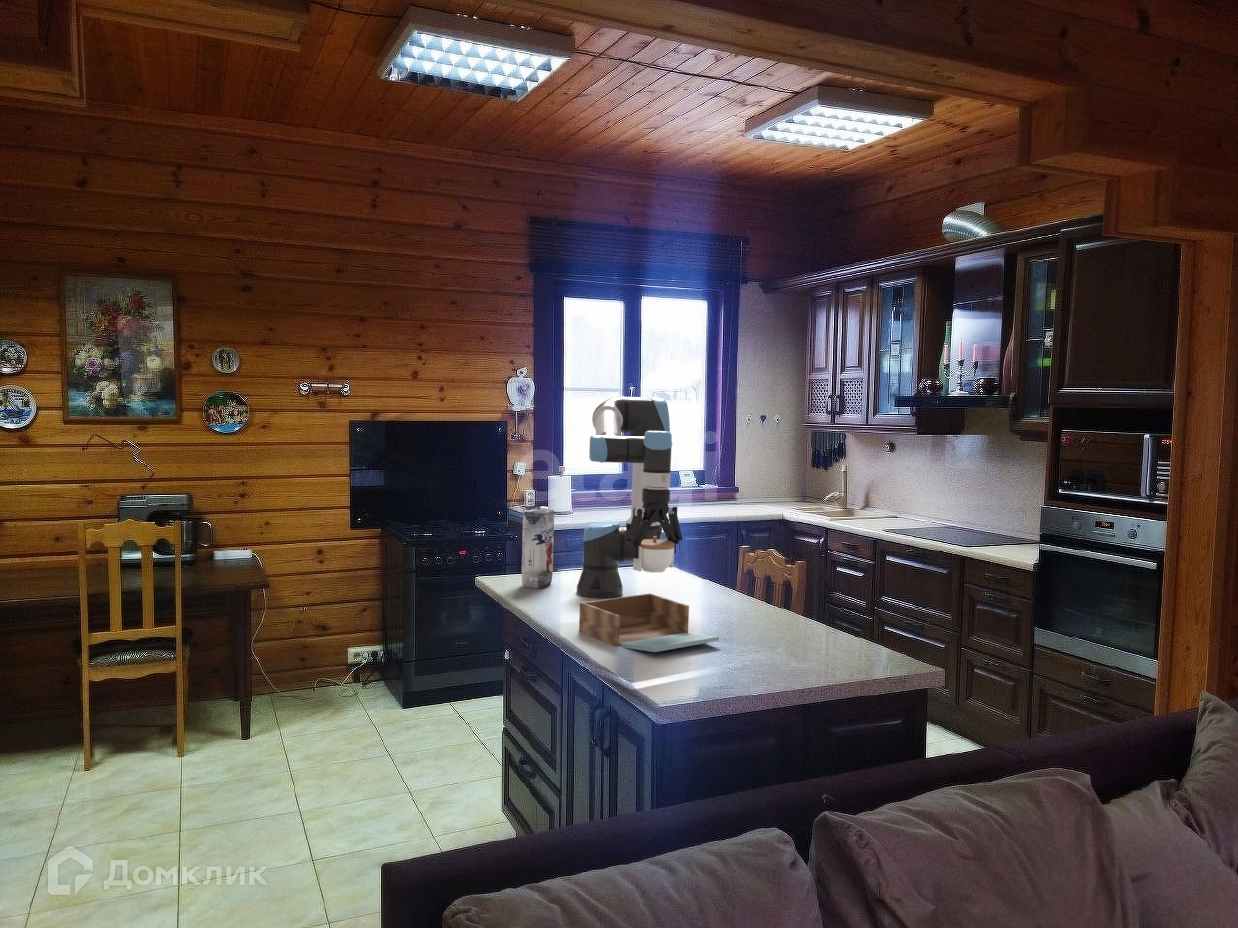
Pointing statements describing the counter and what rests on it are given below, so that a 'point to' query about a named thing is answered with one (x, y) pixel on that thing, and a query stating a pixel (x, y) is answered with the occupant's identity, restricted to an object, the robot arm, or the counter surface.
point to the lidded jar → (656, 554)
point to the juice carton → (537, 547)
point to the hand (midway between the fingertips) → (653, 568)
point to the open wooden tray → (632, 618)
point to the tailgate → (669, 642)
